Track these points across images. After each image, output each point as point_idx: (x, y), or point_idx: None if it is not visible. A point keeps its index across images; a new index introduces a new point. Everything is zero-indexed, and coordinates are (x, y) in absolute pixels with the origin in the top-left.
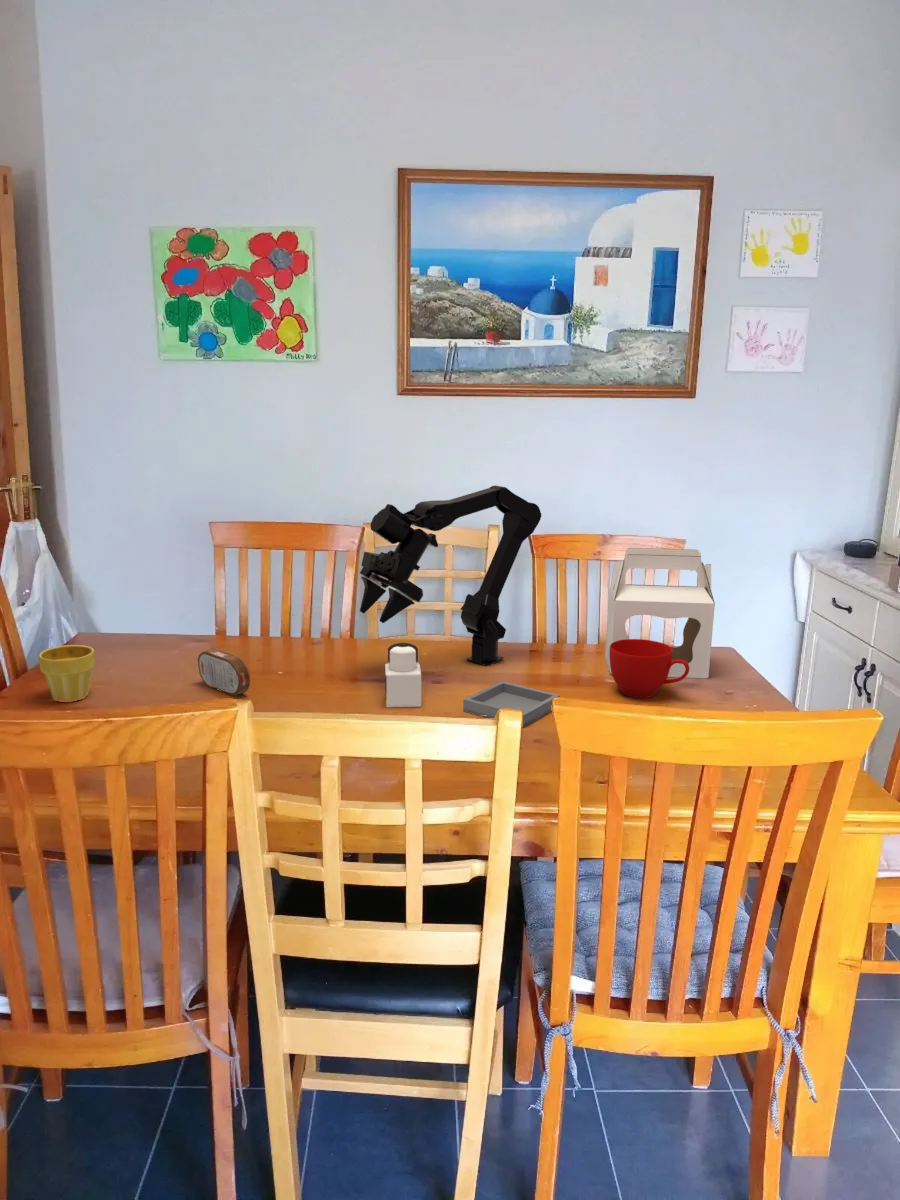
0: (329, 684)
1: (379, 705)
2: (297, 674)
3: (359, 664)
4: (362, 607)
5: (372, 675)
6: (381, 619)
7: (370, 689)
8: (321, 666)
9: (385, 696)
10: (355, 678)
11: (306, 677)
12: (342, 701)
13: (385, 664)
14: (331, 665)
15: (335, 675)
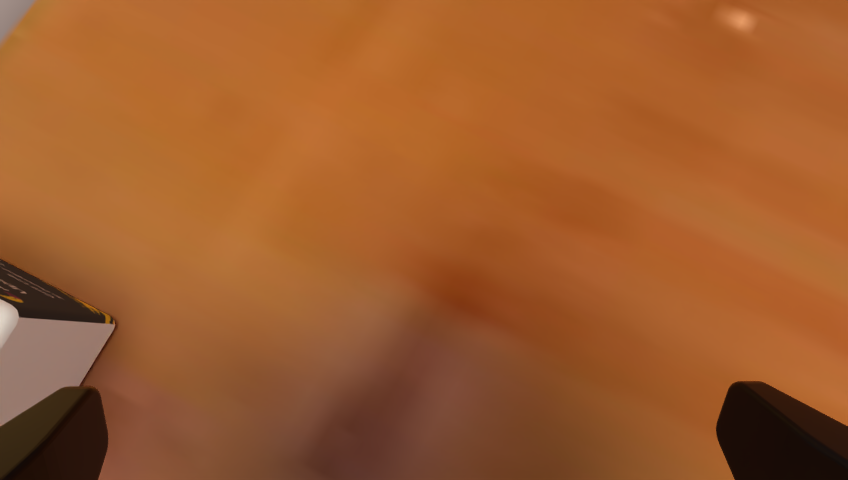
0: (455, 144)
1: (3, 218)
2: (676, 76)
3: (692, 442)
4: (772, 420)
5: (477, 419)
6: (38, 408)
7: (265, 296)
8: (746, 236)
9: (2, 264)
10: (476, 308)
11: (613, 93)
12: (179, 84)
13: (2, 306)
14: (740, 291)
15: (574, 235)
